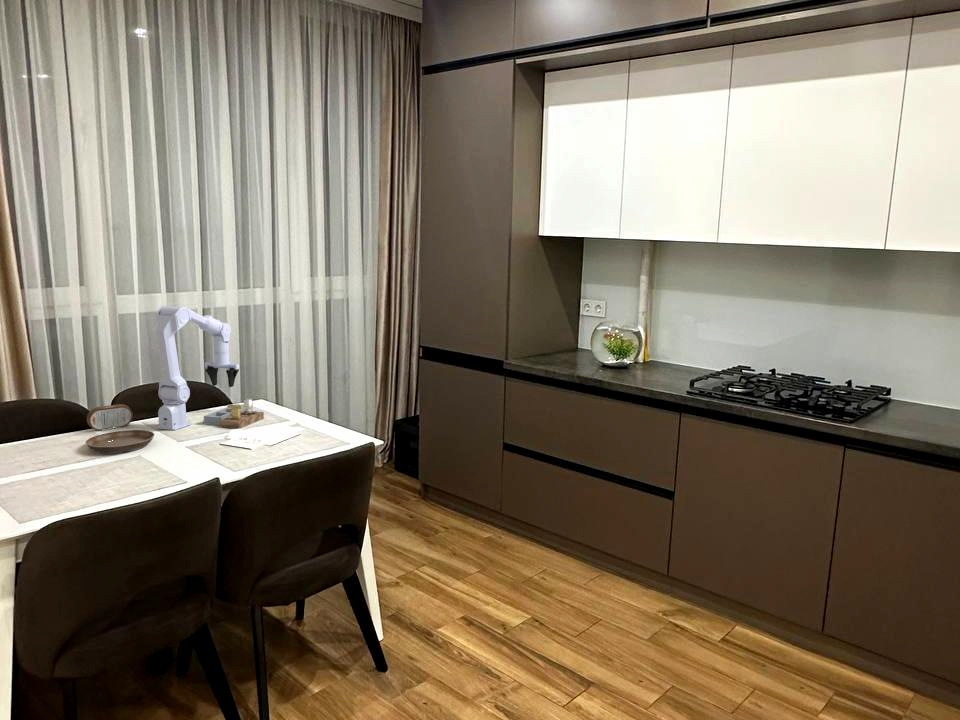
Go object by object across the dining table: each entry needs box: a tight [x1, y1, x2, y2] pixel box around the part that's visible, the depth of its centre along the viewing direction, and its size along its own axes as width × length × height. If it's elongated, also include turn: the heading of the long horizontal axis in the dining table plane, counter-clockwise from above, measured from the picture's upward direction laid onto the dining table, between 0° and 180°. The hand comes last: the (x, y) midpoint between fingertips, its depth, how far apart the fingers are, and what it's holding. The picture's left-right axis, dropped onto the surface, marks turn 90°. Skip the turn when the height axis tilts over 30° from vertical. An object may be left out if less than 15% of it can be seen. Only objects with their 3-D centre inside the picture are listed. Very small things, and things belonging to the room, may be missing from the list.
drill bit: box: [243, 398, 254, 416], centre depth 277 cm, size 3×3×8 cm
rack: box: [203, 403, 244, 426], centre depth 280 cm, size 20×7×3 cm, turn 163°
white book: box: [218, 423, 304, 450], centre depth 256 cm, size 20×28×4 cm
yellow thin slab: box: [226, 404, 243, 419], centre depth 270 cm, size 1×6×5 cm, turn 73°
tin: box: [86, 403, 134, 431], centre depth 264 cm, size 15×3×8 cm, turn 130°
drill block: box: [219, 410, 265, 430], centre depth 274 cm, size 16×8×2 cm, turn 163°
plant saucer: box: [85, 429, 155, 454], centre depth 243 cm, size 21×21×3 cm
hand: (223, 386), depth 291 cm, fingers open, 7 cm apart
